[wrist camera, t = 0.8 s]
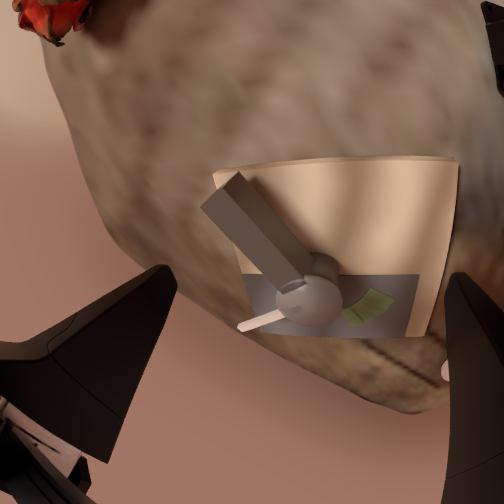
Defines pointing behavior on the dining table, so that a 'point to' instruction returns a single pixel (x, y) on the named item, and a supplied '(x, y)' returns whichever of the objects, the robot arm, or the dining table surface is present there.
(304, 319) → the grey knobbed piece
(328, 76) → the dining table surface
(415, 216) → the thin beige panel
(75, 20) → the dragon fruit
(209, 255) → the dining table surface
